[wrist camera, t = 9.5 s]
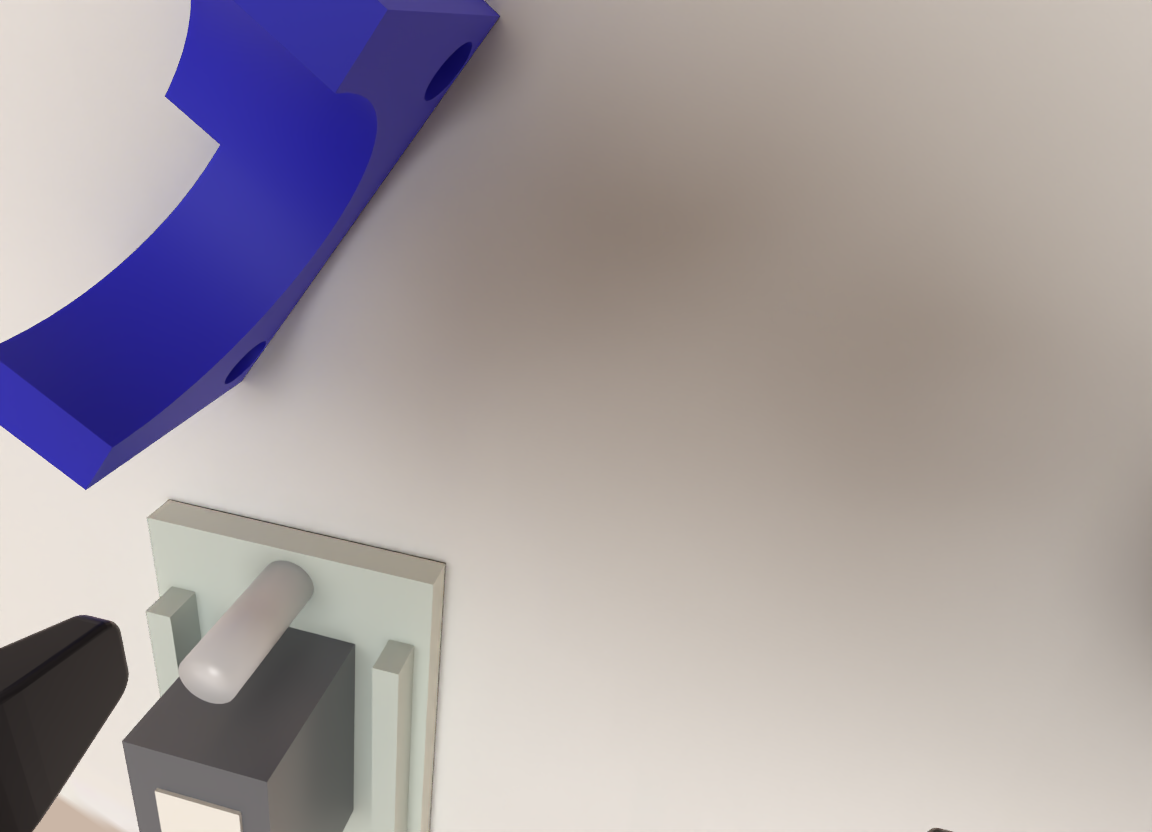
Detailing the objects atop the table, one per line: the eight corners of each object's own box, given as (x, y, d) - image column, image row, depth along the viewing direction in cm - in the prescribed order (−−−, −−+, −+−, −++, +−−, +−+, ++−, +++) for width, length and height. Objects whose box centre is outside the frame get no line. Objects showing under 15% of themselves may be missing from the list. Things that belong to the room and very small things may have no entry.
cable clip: (333, -148, 16) (127, -238, 10) (501, 16, 16) (387, 9, 11) (110, 269, 21) (-101, 349, 16) (244, 379, 22) (86, 490, 17)
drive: (355, 643, 24) (264, 785, 19) (353, 810, 28) (277, 961, 23) (235, 612, 24) (119, 744, 20) (249, 781, 28) (154, 923, 24)
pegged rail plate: (445, 563, 23) (374, 688, 19) (427, 854, 30) (372, 998, 25) (168, 500, 24) (40, 604, 20) (210, 794, 31) (120, 922, 26)
